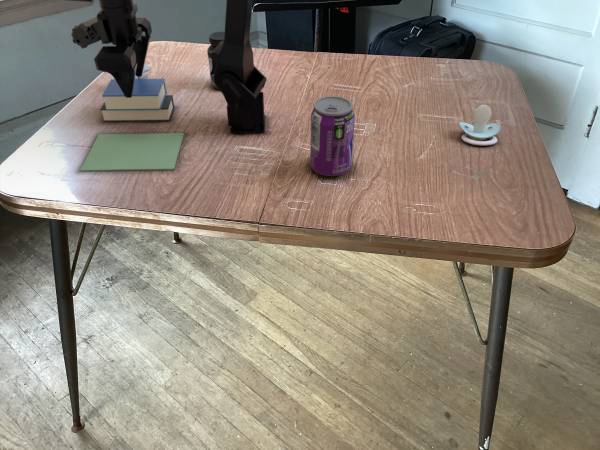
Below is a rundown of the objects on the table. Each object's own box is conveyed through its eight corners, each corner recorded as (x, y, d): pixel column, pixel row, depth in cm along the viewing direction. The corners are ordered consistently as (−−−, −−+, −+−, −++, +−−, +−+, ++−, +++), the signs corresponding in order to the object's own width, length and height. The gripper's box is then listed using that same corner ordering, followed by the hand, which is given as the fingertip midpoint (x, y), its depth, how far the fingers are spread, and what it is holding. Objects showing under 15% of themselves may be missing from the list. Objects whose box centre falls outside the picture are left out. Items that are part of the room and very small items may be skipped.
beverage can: (348, 181, 91) (352, 117, 83) (306, 177, 92) (307, 113, 84) (353, 159, 96) (358, 96, 88) (314, 154, 97) (315, 92, 89)
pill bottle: (241, 79, 121) (238, 30, 114) (236, 91, 116) (232, 41, 109) (214, 78, 121) (209, 29, 114) (208, 90, 117) (202, 40, 110)
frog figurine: (121, 83, 120) (114, 52, 115) (154, 80, 121) (148, 50, 116) (120, 95, 115) (112, 64, 111) (153, 92, 116) (147, 61, 112)
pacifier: (500, 149, 99) (495, 131, 103) (509, 118, 94) (503, 101, 99) (459, 146, 99) (456, 129, 104) (466, 116, 95) (462, 99, 100)
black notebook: (174, 107, 111) (172, 95, 109) (170, 121, 107) (167, 108, 105) (110, 108, 111) (107, 95, 109) (103, 122, 106) (100, 109, 105)
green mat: (184, 134, 103) (183, 133, 102) (174, 170, 93) (173, 168, 93) (99, 135, 102) (98, 134, 102) (80, 171, 93) (80, 169, 93)
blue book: (166, 93, 110) (164, 78, 108) (160, 110, 104) (157, 94, 102) (114, 94, 110) (111, 79, 107) (105, 110, 104) (101, 95, 102)
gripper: (85, -13, 102) (104, 66, 112) (52, 22, 88) (77, 110, 98) (144, -14, 102) (158, 66, 112) (121, 21, 88) (140, 109, 98)
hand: (134, 86), depth 105 cm, fingers open, 9 cm apart
